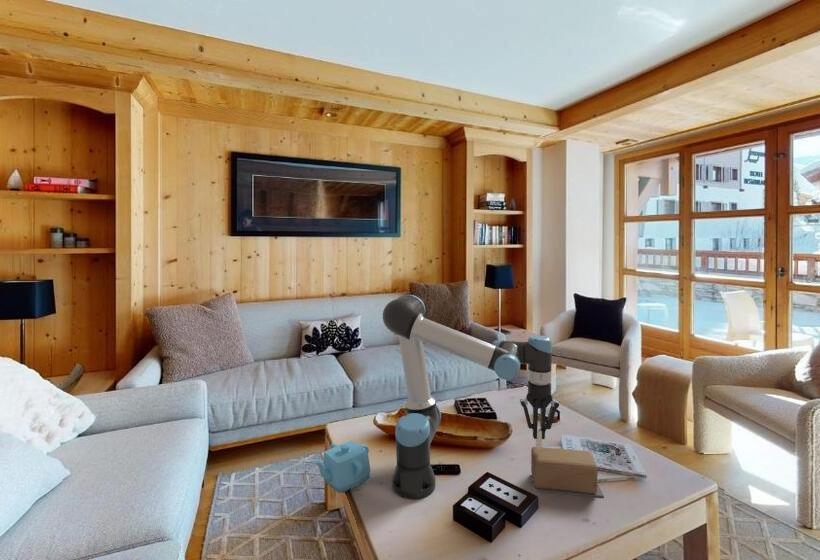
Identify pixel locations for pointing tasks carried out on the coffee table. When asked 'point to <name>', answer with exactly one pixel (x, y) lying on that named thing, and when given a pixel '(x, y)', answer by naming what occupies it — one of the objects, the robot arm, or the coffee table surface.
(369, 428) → the coffee table surface
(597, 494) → the mat
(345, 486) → the teapot
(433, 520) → the coffee table surface
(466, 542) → the coffee table surface
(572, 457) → the wooden block
